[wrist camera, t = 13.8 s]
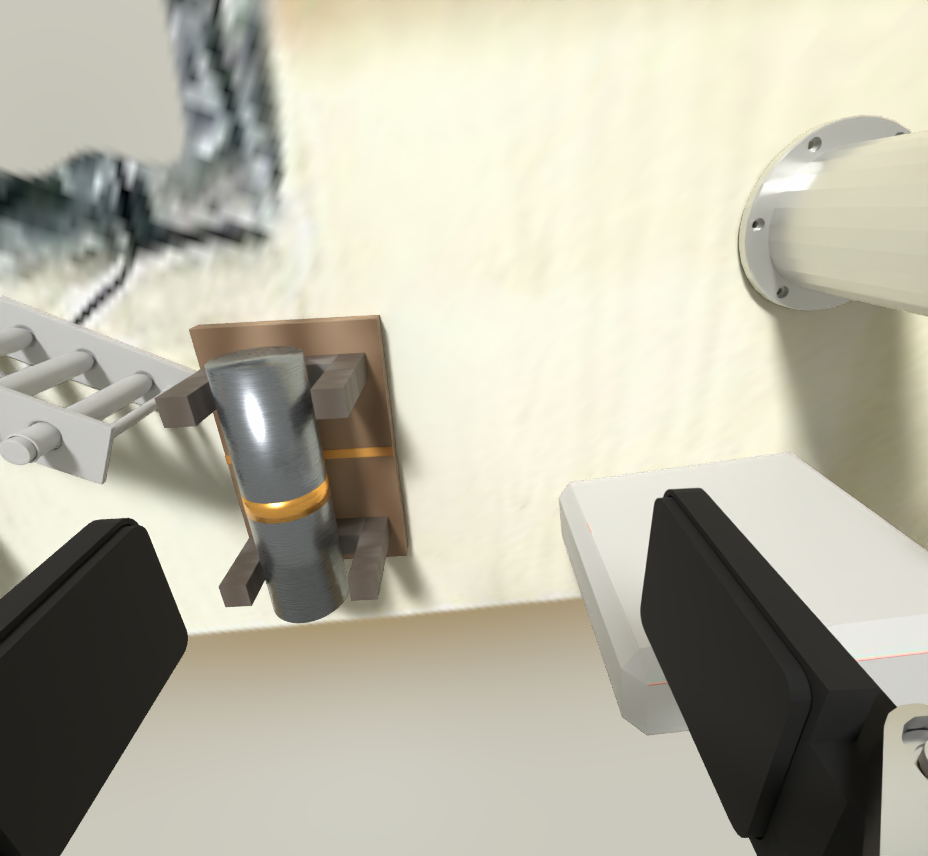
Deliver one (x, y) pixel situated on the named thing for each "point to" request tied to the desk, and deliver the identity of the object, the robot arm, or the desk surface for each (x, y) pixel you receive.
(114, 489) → the desk surface
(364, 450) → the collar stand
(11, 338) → the test tube rack
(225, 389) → the grey cylinder
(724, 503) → the bevelled white case
